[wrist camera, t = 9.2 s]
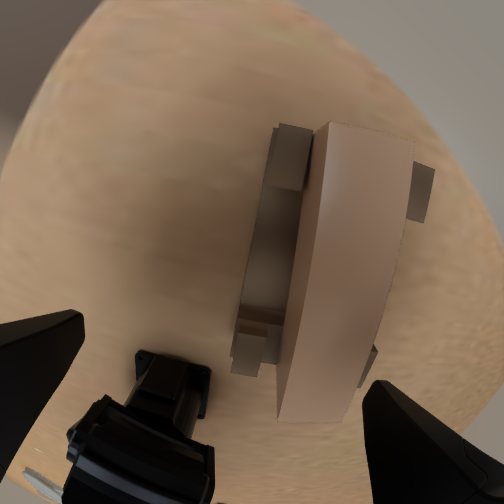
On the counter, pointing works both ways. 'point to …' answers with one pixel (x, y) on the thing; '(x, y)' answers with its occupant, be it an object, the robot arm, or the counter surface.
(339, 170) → the clay bar
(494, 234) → the counter surface
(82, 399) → the counter surface
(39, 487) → the lid
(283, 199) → the bracket
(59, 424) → the counter surface
